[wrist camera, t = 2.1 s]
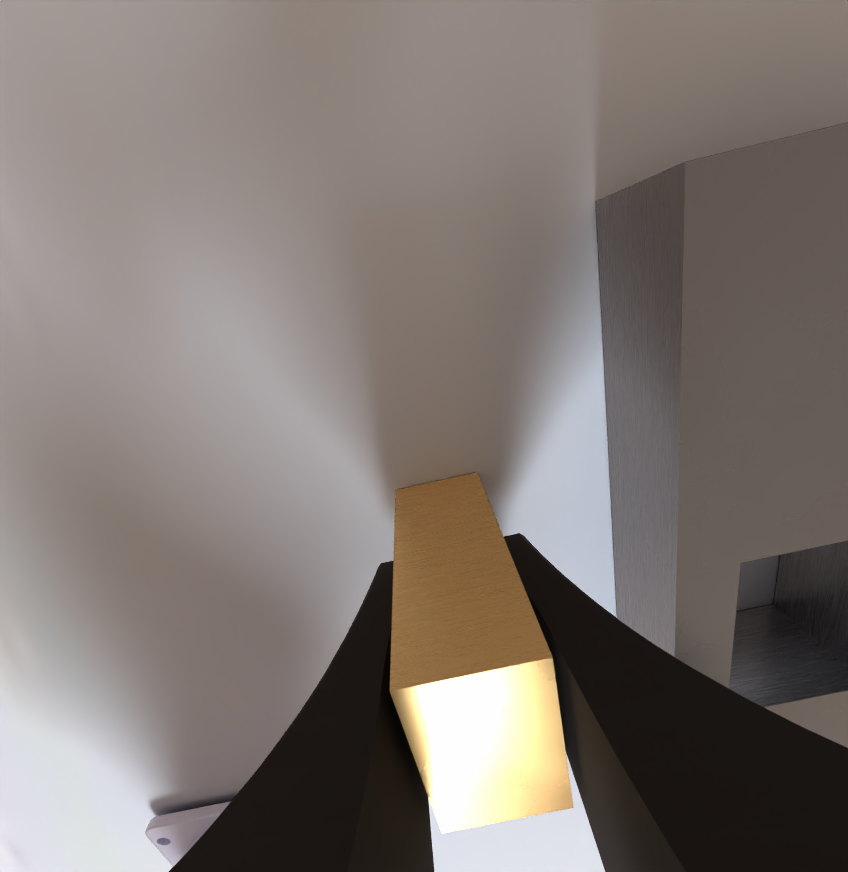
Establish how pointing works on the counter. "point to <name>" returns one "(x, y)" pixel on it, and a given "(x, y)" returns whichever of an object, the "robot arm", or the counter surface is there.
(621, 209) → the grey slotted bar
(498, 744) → the tan wooden block
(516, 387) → the counter surface
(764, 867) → the robot arm
